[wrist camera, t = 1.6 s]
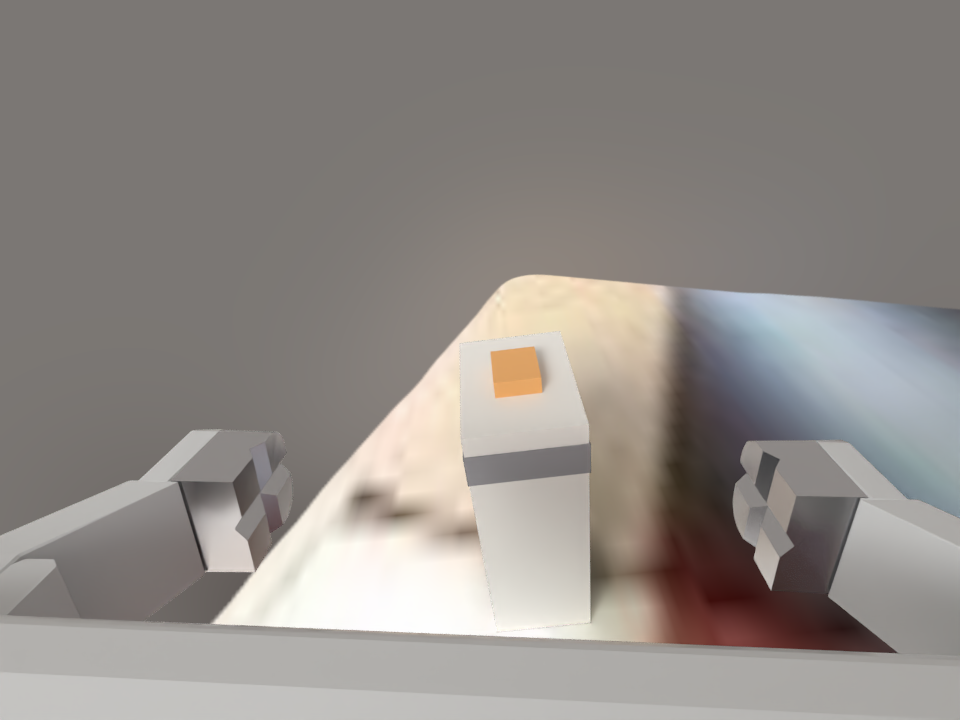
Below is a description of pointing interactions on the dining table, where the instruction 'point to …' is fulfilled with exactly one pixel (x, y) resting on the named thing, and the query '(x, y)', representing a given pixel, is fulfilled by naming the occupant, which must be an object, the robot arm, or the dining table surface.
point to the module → (528, 478)
